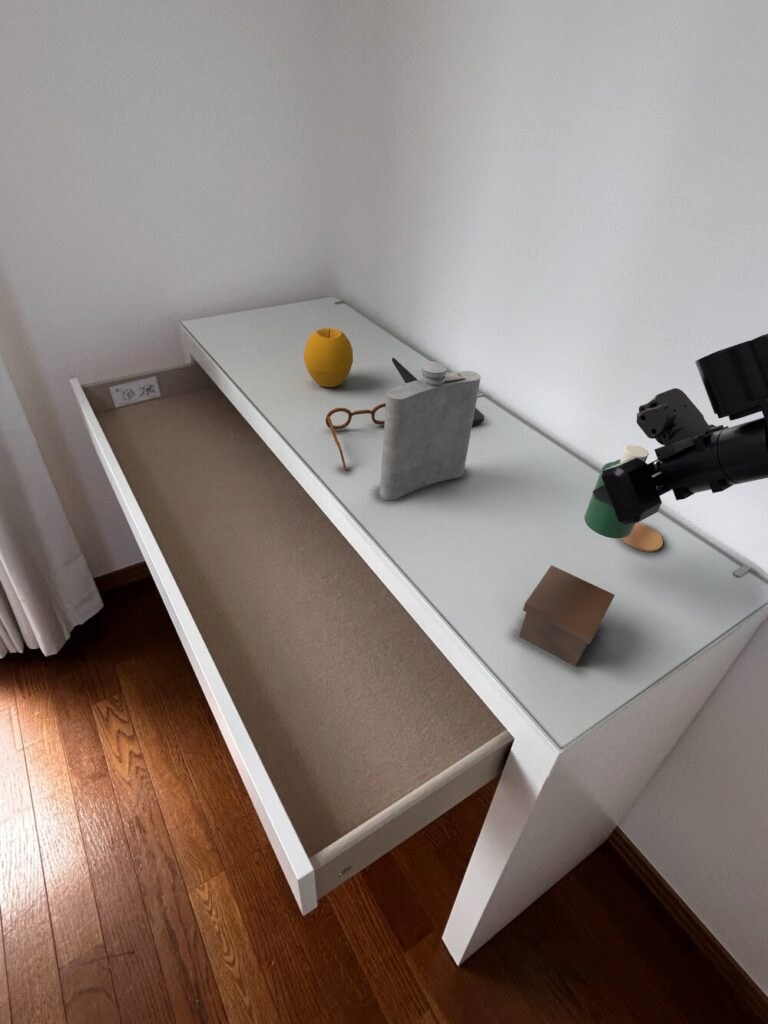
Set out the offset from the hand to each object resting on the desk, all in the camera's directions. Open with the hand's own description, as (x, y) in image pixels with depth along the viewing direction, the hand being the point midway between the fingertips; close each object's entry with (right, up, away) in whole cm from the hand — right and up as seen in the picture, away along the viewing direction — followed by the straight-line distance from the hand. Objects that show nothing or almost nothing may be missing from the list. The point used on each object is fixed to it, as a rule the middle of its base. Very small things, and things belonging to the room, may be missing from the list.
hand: (611, 486), depth 71 cm
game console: (-18, +16, +40) cm, 47 cm away
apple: (-40, +23, +46) cm, 65 cm away
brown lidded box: (-7, -18, -1) cm, 19 cm away
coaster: (+10, -7, +14) cm, 19 cm away
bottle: (0, -5, +2) cm, 5 cm away
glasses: (-31, +8, +29) cm, 43 cm away
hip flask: (-22, +2, +22) cm, 31 cm away
